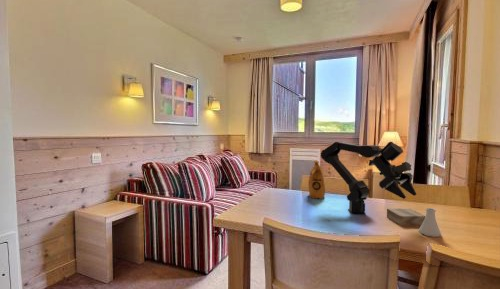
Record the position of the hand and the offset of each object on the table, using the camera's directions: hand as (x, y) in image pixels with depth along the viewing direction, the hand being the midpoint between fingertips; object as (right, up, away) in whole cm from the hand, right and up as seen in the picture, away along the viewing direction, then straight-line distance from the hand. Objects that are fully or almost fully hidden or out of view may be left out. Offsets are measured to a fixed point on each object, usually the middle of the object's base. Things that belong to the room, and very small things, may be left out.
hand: (410, 196), depth 109 cm
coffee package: (-26, -11, +52) cm, 59 cm away
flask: (+4, -14, -6) cm, 16 cm away
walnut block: (+3, -13, +9) cm, 16 cm away
